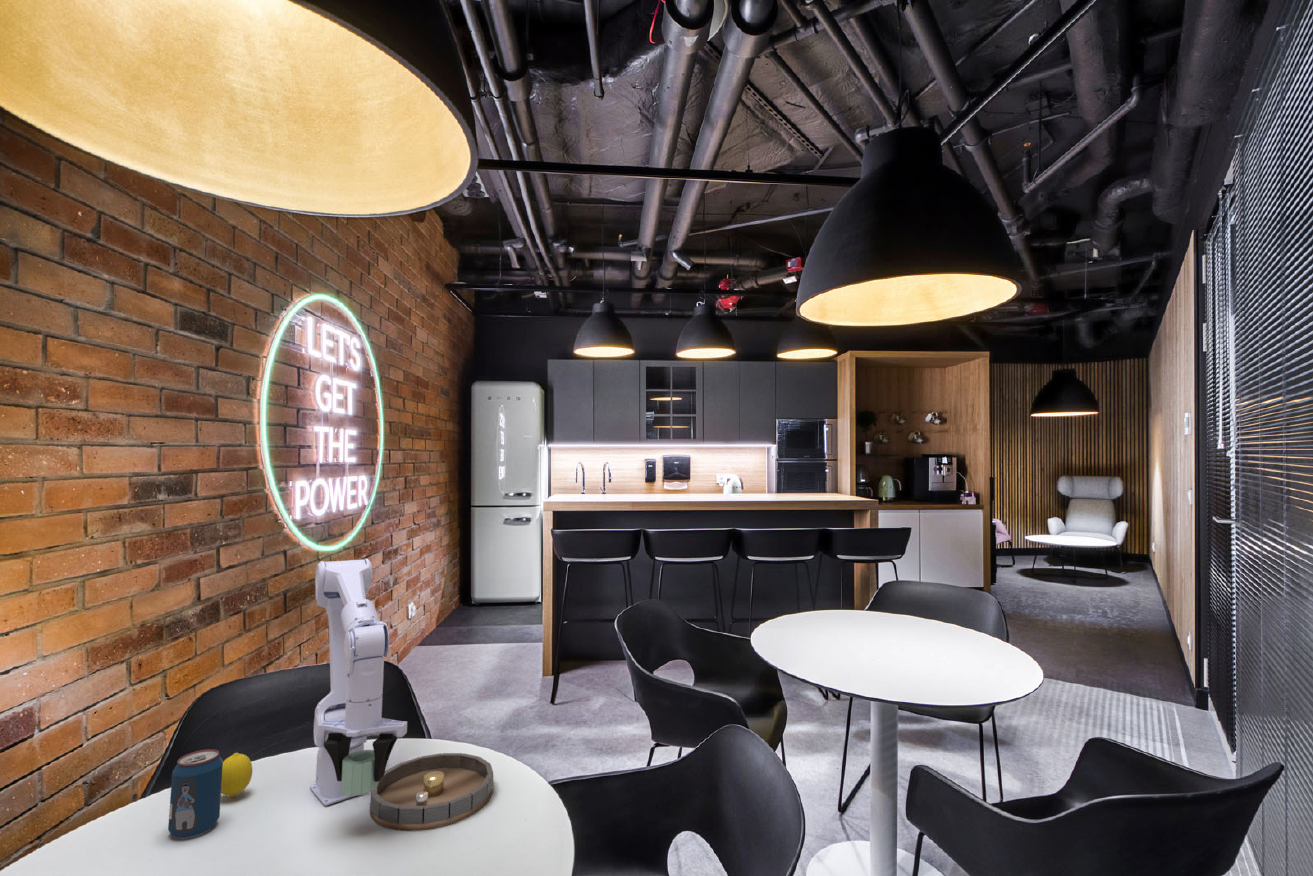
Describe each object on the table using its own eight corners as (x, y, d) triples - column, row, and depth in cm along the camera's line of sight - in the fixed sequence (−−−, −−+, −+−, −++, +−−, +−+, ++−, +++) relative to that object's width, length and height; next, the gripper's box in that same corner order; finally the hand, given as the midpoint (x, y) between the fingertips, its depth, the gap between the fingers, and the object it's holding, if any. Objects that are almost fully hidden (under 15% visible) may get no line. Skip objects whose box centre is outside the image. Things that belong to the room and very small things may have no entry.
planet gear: (337, 787, 102) (338, 756, 103) (371, 776, 106) (372, 747, 106) (347, 799, 98) (349, 767, 99) (383, 787, 102) (384, 757, 102)
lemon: (208, 801, 110) (211, 756, 111) (238, 787, 116) (241, 744, 116) (227, 807, 108) (230, 762, 109) (257, 793, 113) (260, 749, 114)
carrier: (351, 797, 112) (352, 775, 112) (459, 760, 127) (459, 741, 128) (398, 846, 97) (399, 820, 97) (514, 798, 112) (514, 775, 113)
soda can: (215, 814, 106) (219, 744, 107) (222, 830, 101) (227, 756, 102) (165, 829, 101) (170, 756, 102) (170, 847, 96) (175, 770, 98)
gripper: (309, 705, 99) (304, 790, 98) (395, 705, 99) (392, 790, 98) (332, 690, 106) (328, 769, 105) (413, 691, 106) (410, 770, 105)
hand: (360, 778), depth 102 cm, fingers closed on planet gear, 6 cm apart
